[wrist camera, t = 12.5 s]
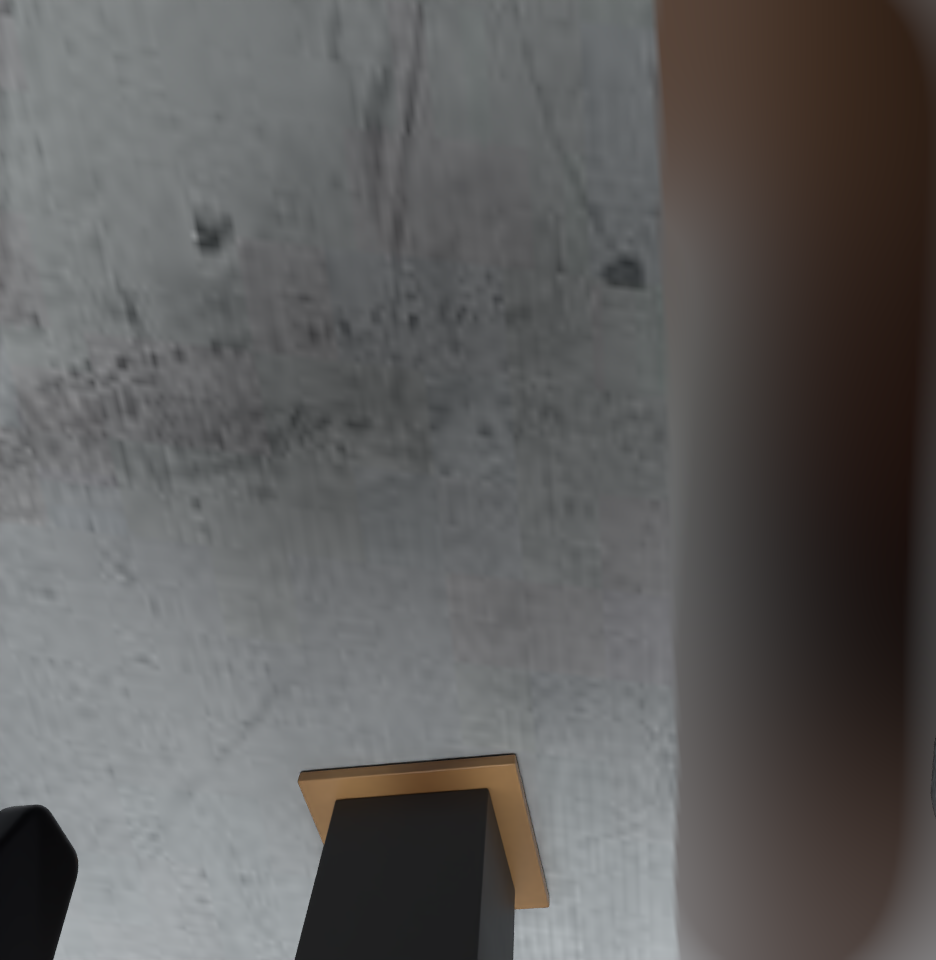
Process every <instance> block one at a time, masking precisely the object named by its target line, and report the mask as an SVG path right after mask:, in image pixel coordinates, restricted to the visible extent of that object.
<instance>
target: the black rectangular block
mask: <svg viewBox="0 0 936 960" xmlns="http://www.w3.org/2000/svg"><path fill="white" fill-rule="evenodd" d="M514 910H515V888H514V884H513V880H512V877H511V873H510V869H509V865H508V861H507V858H506V854H505V850H504V846H503V843H502V839H501V835H500V831H499V827H498V824H497V820H496V816H495V812H494V808H493V805H492V801H491V797H490V793H489V790H488V789H487V788H485V789H473V790H460V791H447V792H434V793H421V794H408V795H395V796H382V797H369V798H356V799H343V800H336V801H335V804H334V808H333V812H332V816H331V820H330V824H329V828H328V832H327V835H326V839H325V843H324V847H323V851H322V855H321V859H320V863H319V867H318V871H317V875H316V878H315V882H314V886H313V890H312V894H311V898H310V902H309V906H308V910H307V914H306V917H305V921H304V925H303V929H302V933H301V937H300V941H299V945H298V949H297V953H296V957H295V960H513V946H514Z"/></svg>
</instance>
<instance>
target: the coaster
mask: <svg viewBox="0 0 936 960" xmlns="http://www.w3.org/2000/svg"><path fill="white" fill-rule="evenodd" d="M298 784H299V786H300V789H301V791H302V793H303V796H304V798H305V801H306V803H307V806H308V808H309V810H310V813H311V815H312V818H313V820H314V822H315V825H316V827H317V830H318V832H319V834H320V837H321V839H322V842H323V844H324V843H325V839H326V835H327V832H328V828H329V824H330V820H331V816H332V812H333V808H334V804H335V801H336V800H343V799H356V798H369V797H382V796H395V795H408V794H421V793H434V792H447V791H460V790H473V789H485V788H487V789H488V790H489V793H490V797H491V801H492V805H493V808H494V812H495V816H496V820H497V824H498V827H499V831H500V835H501V839H502V843H503V846H504V850H505V854H506V858H507V861H508V865H509V869H510V873H511V877H512V880H513V884H514V888H515V909H528V908H546V907H549V895H548V891H547V886H546V882H545V878H544V874H543V869H542V865H541V861H540V857H539V852H538V848H537V844H536V840H535V835H534V831H533V827H532V823H531V819H530V814H529V810H528V806H527V802H526V797H525V793H524V789H523V785H522V780H521V776H520V772H519V768H518V764H517V759H516V756H515V755H503V756H491V757H479V758H467V759H455V760H443V761H431V762H419V763H407V764H395V765H383V766H371V767H359V768H347V769H335V770H324V771H312V772H301V773H300V776H299V779H298Z"/></svg>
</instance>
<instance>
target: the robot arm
mask: <svg viewBox="0 0 936 960" xmlns="http://www.w3.org/2000/svg"><path fill="white" fill-rule="evenodd" d="M931 798H932V804H933V809H934V813H935V817H936V738H935V744H934V757H933V771H932V784H931ZM77 874H78V858H77V854H76V851H75V849H74V848H73V846H72V845H71V843H70V841H69V840H68V838H67V837H66V835H65V834H64V832H63V831H62V829H61V827H60V826H59V824H58V823H57V821H56V820H55V818H54V817H53V815H52V813H51V812H50V811H49V810H48V809H47V808H46V807H44V806H42V805H26V806H14V807H9V808H5V809H3V810H1V811H0V960H53V958H54V955H55V951H56V948H57V944H58V941H59V937H60V934H61V930H62V927H63V923H64V920H65V917H66V913H67V910H68V906H69V903H70V899H71V896H72V892H73V889H74V885H75V882H76V878H77Z"/></svg>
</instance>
